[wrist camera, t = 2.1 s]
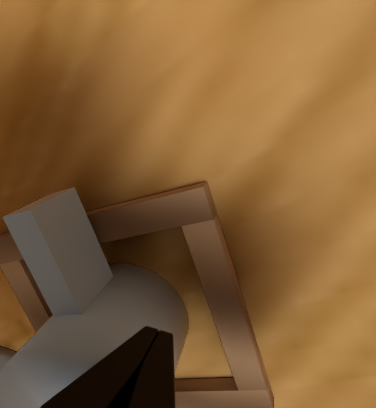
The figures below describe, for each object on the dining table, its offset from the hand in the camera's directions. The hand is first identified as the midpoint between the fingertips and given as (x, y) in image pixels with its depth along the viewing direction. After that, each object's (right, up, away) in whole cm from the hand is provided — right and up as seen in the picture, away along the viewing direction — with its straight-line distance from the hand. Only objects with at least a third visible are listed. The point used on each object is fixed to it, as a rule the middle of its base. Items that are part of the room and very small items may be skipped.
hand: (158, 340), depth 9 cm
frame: (-2, -2, +8) cm, 9 cm away
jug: (-3, 0, +8) cm, 8 cm away
